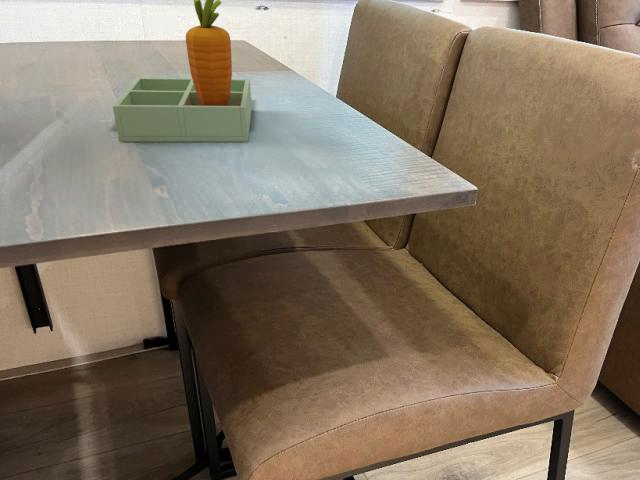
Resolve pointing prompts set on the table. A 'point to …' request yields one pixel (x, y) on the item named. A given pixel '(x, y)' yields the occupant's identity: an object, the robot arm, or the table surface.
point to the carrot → (210, 57)
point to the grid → (181, 113)
